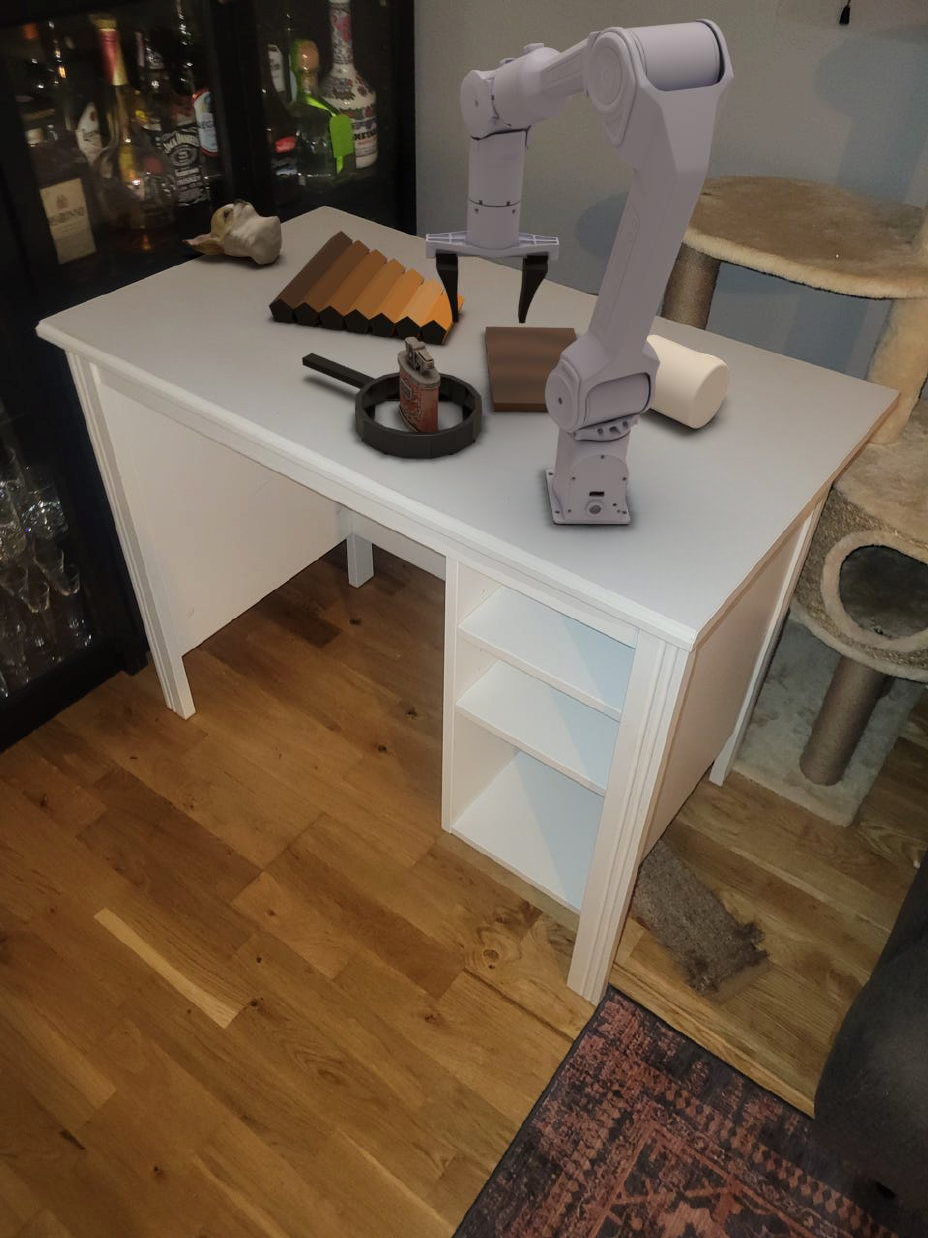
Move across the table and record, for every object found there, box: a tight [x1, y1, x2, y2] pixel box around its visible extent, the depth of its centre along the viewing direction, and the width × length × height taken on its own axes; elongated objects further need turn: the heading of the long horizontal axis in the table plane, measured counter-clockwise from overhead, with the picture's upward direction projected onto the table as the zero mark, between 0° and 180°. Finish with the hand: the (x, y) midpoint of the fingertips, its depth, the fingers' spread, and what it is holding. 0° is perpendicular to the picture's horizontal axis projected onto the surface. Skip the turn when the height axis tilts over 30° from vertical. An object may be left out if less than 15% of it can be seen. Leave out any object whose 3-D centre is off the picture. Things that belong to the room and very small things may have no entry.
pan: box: [301, 352, 483, 459], centre depth 112 cm, size 19×22×3 cm
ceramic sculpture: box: [182, 198, 283, 265], centre depth 143 cm, size 11×9×15 cm
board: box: [484, 326, 578, 413], centre depth 122 cm, size 20×12×1 cm, turn 2°
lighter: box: [397, 337, 440, 432], centre depth 109 cm, size 8×3×10 cm, turn 25°
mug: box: [647, 334, 731, 429], centre depth 115 cm, size 12×10×8 cm
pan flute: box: [268, 230, 465, 346], centre depth 136 cm, size 25×3×25 cm
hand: (488, 318), depth 110 cm, fingers open, 7 cm apart
